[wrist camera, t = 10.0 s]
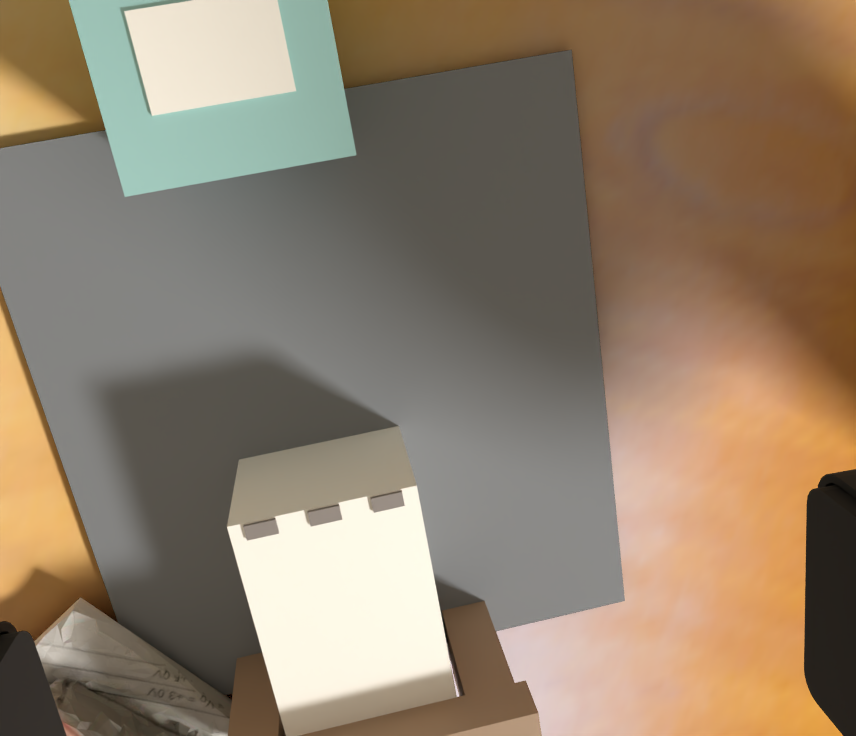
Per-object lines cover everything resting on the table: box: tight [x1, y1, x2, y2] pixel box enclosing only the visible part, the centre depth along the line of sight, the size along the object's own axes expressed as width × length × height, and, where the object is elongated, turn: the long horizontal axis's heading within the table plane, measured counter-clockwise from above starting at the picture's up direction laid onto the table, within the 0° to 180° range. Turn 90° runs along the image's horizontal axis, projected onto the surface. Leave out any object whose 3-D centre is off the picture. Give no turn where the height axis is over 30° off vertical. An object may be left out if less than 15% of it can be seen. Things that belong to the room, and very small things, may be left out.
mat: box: [0, 50, 625, 695], centre depth 30 cm, size 20×22×1 cm
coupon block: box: [227, 426, 542, 736], centre depth 29 cm, size 11×12×7 cm
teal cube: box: [69, 0, 356, 197], centre depth 23 cm, size 6×5×6 cm
